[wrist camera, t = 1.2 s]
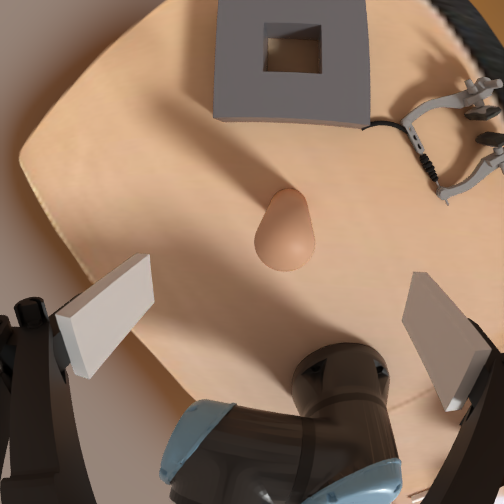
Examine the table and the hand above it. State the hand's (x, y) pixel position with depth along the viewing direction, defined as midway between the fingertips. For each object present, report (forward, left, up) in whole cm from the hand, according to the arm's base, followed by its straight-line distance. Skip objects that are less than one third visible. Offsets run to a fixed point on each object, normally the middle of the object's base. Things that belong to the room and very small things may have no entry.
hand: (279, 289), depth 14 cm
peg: (0, 0, -23) cm, 23 cm away
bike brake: (+10, -20, -24) cm, 33 cm away
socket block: (+18, 0, -23) cm, 29 cm away
